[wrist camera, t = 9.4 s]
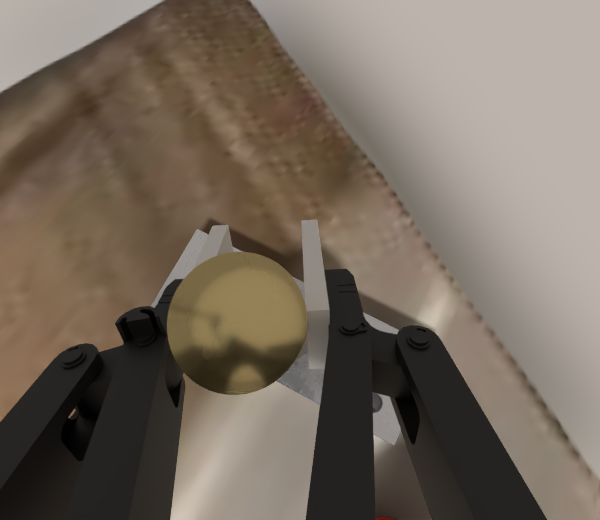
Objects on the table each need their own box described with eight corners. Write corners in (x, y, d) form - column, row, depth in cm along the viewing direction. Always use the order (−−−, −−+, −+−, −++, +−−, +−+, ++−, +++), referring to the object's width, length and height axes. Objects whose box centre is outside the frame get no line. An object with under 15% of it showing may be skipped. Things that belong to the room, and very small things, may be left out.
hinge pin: (235, 341, 19) (140, 351, 8) (265, 286, 20) (211, 229, 9) (290, 372, 19) (264, 422, 8) (319, 314, 19) (330, 288, 9)
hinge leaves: (155, 311, 33) (131, 308, 28) (202, 233, 34) (186, 218, 30) (390, 440, 30) (404, 458, 25) (428, 347, 31) (448, 349, 27)
